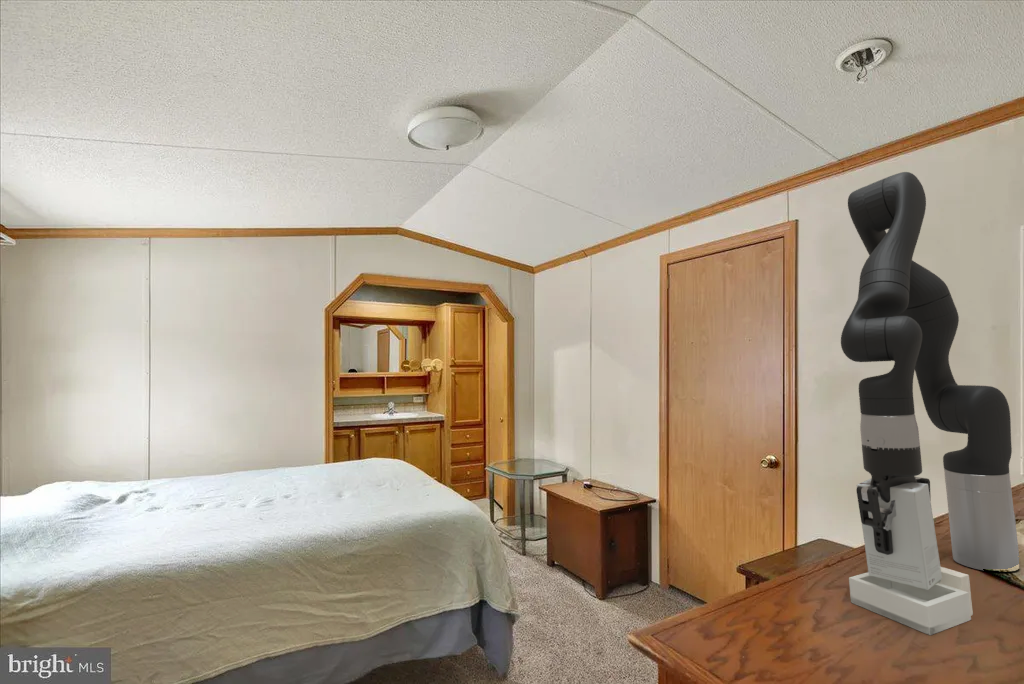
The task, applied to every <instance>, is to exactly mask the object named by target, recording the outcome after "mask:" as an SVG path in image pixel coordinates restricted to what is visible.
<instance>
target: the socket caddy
mask: <svg viewBox="0 0 1024 684" xmlns="http://www.w3.org/2000/svg"><path fill="white" fill-rule="evenodd" d="M848 583H849V594H850V603H852V604H854V605H856V606H858V607H861V608H862V609H866V610H868V611H871V612H873V613H875V614H878V615H879V616H883V617H884V618H887V619H890V620H892V621H894V622H896V623H900V624H902V625H904V626H906V627H909V628H912V629H913V630H916V631H918V632H921V633H923V634H926V635H928V636H933V635H936V634H939V633H940V632H943V631H945V630H948V629H950V628H953V627H956V626H959V625H961V624H964V623H966V622H967V623H968V622H969V621H971V620H972V617H971V616H972V615H971V614H970V604H969V594H968V592H965V591H962V590H959V589H956V588H953V587H950V586H947V585H944V584H941V583H938V584H936V585H934V586H932V587H931V588H930V589H928V590H926V589H922V588H918V587H914V586H911V585H907V584H903V583H899V582H894V581H890V580H886V579H882V578H878V577H874V576H870V575H869V573H868V571H867V572H864V573H860V574H857V575H854V576H849V577H848Z"/></svg>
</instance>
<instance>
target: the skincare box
mask: <svg viewBox="0 0 1024 684" xmlns="http://www.w3.org/2000/svg"><path fill="white" fill-rule="evenodd" d="M870 483H871V478H869V479H867V480H864V481H862V482H860V483H858V484H856V488H857V487H858V486H861V487H868V486H870ZM878 496H879V497H880V500H879V507H880V508H885V509H888V508H889V507H890V504H891V501H893V500H895V504H896V508H895V509H896V517H893V519H892V523H891V527H890V530H891V534H892V545H893V554H890V555H886V554H883V553H880V552H878V551H877V550H876V548H875V543H874V532H873V528H872V527H871V526H868V525H864V524H862V523H861V528H862V535H863V542H864V550H865V557H866V558H865V559H866V565H867V572H868V573H869V575H870V576H874V577H878V578H882V579H886V580H890V581H894V582H899V583H903V584H907V585H911V586H914V587H918V588H922V589H926V590H928V589H930V588H931V587H932V586H934V585H936V584H938V583H939V582H940V581H941V579H942V574H941V567H942V566H941V562H940V554H939V548H938V541H937V536H936V529H935V528H936V527H935V522H934V516H933V508H932V501H930V496H931V493H930V494H929V488H928V484H924V483H913V482H911V483H905V484H901V485H897V486H893V487H891V488H890V502H888V503H886V502H885V501H883V500H882V499H881V496H880V493H879V492H878ZM871 514H872V513H871V512H869V511H868V515H869V518H870V517H871ZM884 516H885V514H882V513H881V520H882V521H883V520H884Z"/></svg>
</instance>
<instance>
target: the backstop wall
mask: <svg viewBox="0 0 1024 684" xmlns="http://www.w3.org/2000/svg"><path fill="white" fill-rule="evenodd" d="M940 567H941V574H942V579H941V581H940V582H939V583H941V584H944V585H947V586H950V587H953V588H956V589H959V590H962V591H965V592H968V594H969V604H970V614H971V616H973V615H974V612H973V604H972V593H971V591H972V590H971V584H970V583H971V582H970V574H967V573H963V572H960V571H957V570H953V569H950V568H947V567H944V566H940Z"/></svg>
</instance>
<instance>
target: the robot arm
mask: <svg viewBox="0 0 1024 684" xmlns="http://www.w3.org/2000/svg"><path fill="white" fill-rule="evenodd" d="M847 207H848V208H847V209H848V213H849V215H850V219H851V221H852V223H853V226H854V228H855V230H856V233H857V234H858V236H859V238H860V239H861V242H862V244H863V246H864V247H865V250H866V251H867V253H868V255H869V256H868V258H867V259H866V260H865V262H864V264H863V266H862V268H861V272H860V275H859V282H858V294H857V299H856V301H855V304H854V306H853V309H852V311H851V312H850V315H849V317H848V318H847V320H846V322H845V324H844V326H843V328H842V332H841V334H840V346H841V347H840V348H841V350H842V353H843V354H844V355H845V357H847V359H849V360H850V361H852V362H856V363H871V362H873V363H876V362H877V363H878V362H894V364H893V367H892V369H891V370H890V371H888V372H887V373H884V374H879V375H874V376H870V377H865V378H862V379H861V380H860V381H859V383H858V397H859V398H858V399H859V408H860V409H859V411H860V423H859V425H860V426H859V427H860V428H859V429H860V431H859V432H860V441H861V453H862V464H863V469H864V471H865V472H867V473H868V474H870V476H871V478H870V479H871V483H870V486H868V487H861V486H858V487H857V486H856V496H857V504H858V509H859V514H860V522H861V525H862V524H864V525H868V526H871V527H872V528H873V532H874V543H875V548H876V550H877V551H878V552H880V553H883V554H886V555H890V554H893V545H892V534H891V530H890V527H891V523H892V519H893V517H896V509H895V508H896V504H895V500H893V501H891V504H890V507H889V508H888V509H885V508H880V507H879V500H880V497H879V496H878V492H879V493H880V496H881V499H882V500H883V501H885V502H886V503H888V502H890V488H891V487H893V486H897V485H901V484H905V483H911V482H913V483H924V484H928V488H929V494H930V501H931V497H932V495H931V481H930V479H929V478H926V477H921V476H920V475H921V474H922V473H923V464H922V453H921V443H920V442H921V441H920V433H919V431H920V430H919V427H918V423H917V419H916V414H915V413H916V411H915V402H914V401H915V400H914V389H913V388H914V376H915V375H916V380H917V384H918V386H919V391H920V395H921V399H922V401H923V405H924V409H925V411H926V414H927V417H928V418H929V420H930V421H931V423H932V424H933V425H934V426H935V427H936V428H937V429H939V430H941V431H944V432H949V433H955V434H956V433H957V434H966V435H967V441H966V442H967V443H966V445H965V447H964V448H961V449H959V450H953V451H949V452H946V453H944V455H943V457H942V463H943V464H942V465H943V471H944V481H945V482H944V483H945V489H946V503H947V513H948V521H949V531H950V541H951V543H950V544H951V552H952V559H953V561H955V562H956V563H958V564H959V565H962V566H965V567H968V568H972V569H975V570H980V571H984V570H983V569H1008V568H1012V567H1014V566H1016V565H1018V564H1019V559H1020V552H1019V545H1018V544H1019V542H1018V532H1017V531H1018V530H1017V523H1016V514H1015V512H1014V511H1015V509H1014V500H1013V493H1012V490H1013V489H1012V484H1011V483H1012V482H1011V474H1010V461H1011V457H1012V452H1013V451H1012V449H1013V448H1012V432H1011V431H1012V430H1011V428H1012V425H1011V422H1012V421H1011V420H1012V419H1011V412H1010V411H1011V409H1010V406H1009V403H1008V399H1007V397H1006V396H1005V394H1004V393H1003V392H1002V391H1001V390H1000V389H999V388H997V387H994V386H992V385H975V384H974V385H973V384H972V385H970V384H969V385H968V384H967V385H966V384H965V385H964V384H963V385H960V384H958V383H957V382H956V380H955V378H954V375H953V371H952V369H951V366H950V361H949V357H950V352H951V348H952V345H953V342H954V340H955V337H956V333H957V331H958V327H959V321H960V319H959V317H960V316H959V312H958V309H957V307H956V305H955V302H954V299H953V297H952V294H951V293H950V289H949V286H947V284H946V283H945V281H944V280H943V279H941V278H940V277H939V276H938V275H937V274H935V273H934V272H932V271H931V270H929V269H928V268H926V267H924V266H923V265H921V264H919V263H917V262H916V261H914V260H913V257H914V253H915V250H916V246H917V243H918V240H919V236H920V233H921V230H922V225H923V222H924V218H925V214H926V207H927V199H926V192H925V189H924V186H923V185H922V182H921V181H920V179H918V177H917V175H915V174H913V173H912V172H909V171H902V172H899V173H896V174H892V175H890V176H887V177H884V178H882V179H880V180H878V181H875V182H873V183H869V184H868V185H865V186H862V187H860V188H858V189H856V190H853V191H852V192H851V193H849V196H848V198H847ZM886 230H887V232H886ZM919 476H920V477H919ZM931 502H932V501H931ZM868 511H869V512H871V513H872V514H871V517H870V518H869V515H868ZM881 513H882V514H885V516H884V520H883V521H882V520H881ZM1018 556H1019V557H1018ZM1019 565H1020V564H1019Z"/></svg>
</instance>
